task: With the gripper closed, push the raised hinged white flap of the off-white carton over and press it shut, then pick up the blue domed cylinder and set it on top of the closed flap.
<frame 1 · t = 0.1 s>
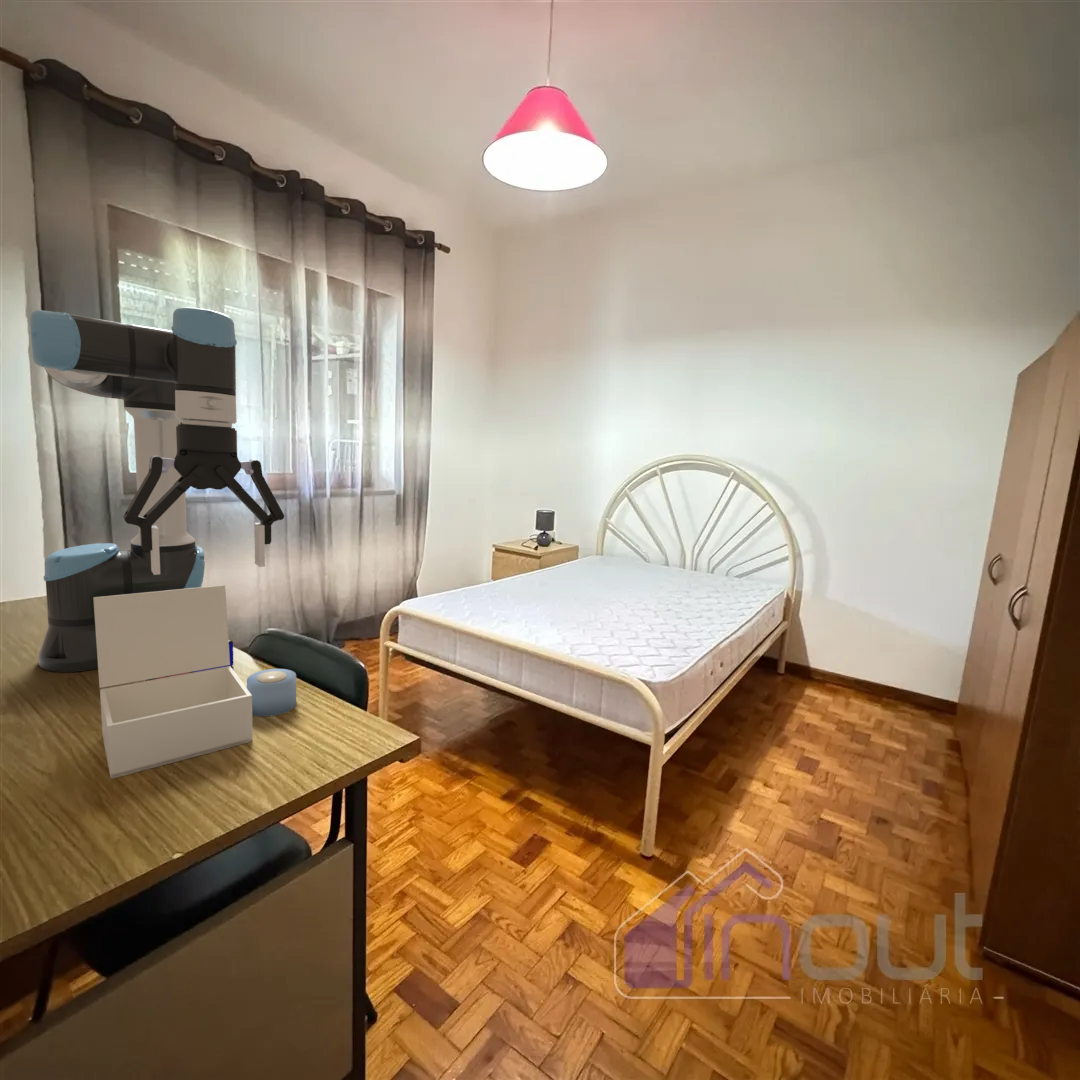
hand: (210, 568, 84), 28 cm above the table, fingers open, 13 cm apart
puzzle cube: (191, 698, 102), on the table
carton: (178, 738, 88), on the table
hinged white flap: (166, 633, 92), point 15 cm above the table, hinge at 100.0°
blue domed cylinder: (272, 706, 101), on the table
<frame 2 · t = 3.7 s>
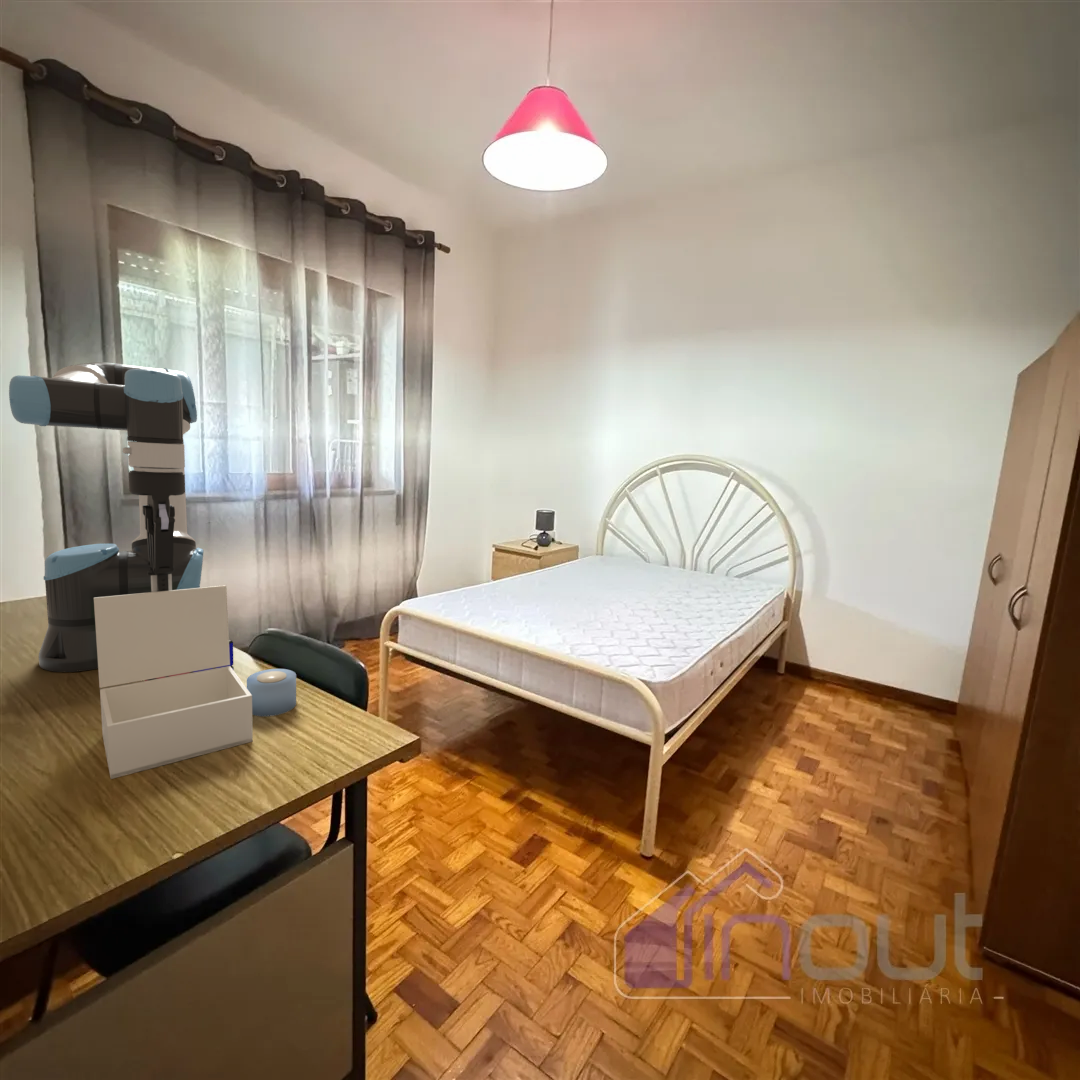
hand: (162, 611, 94), 18 cm above the table, fingers closed
hinged white flap: (166, 633, 92), point 15 cm above the table, hinge at 96.3°, touching gripper
everything else where it was.
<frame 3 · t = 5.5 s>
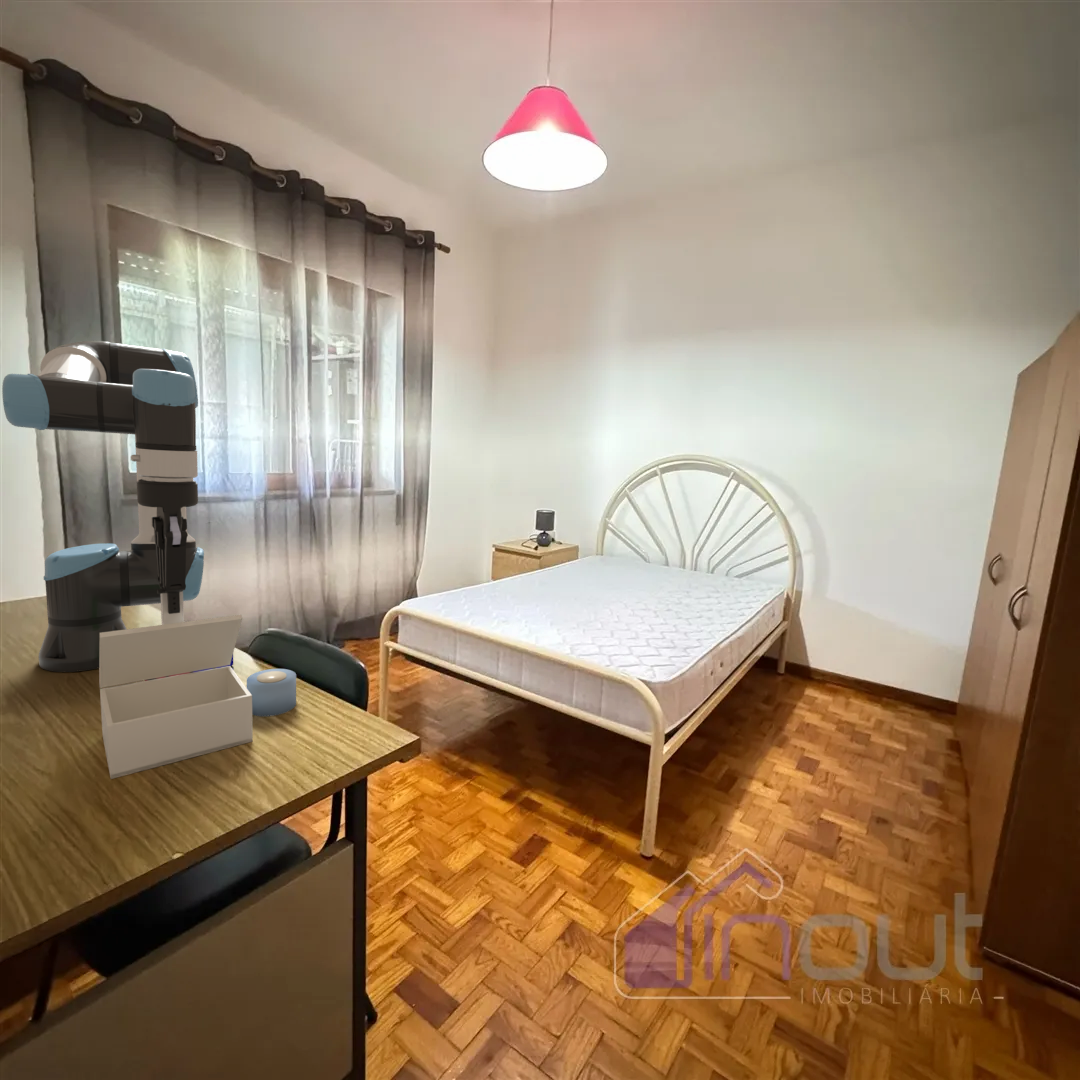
hand: (173, 631, 86), 17 cm above the table, fingers closed
hinged white flap: (172, 650, 88), point 14 cm above the table, hinge at 50.8°, touching gripper
everything else where it was.
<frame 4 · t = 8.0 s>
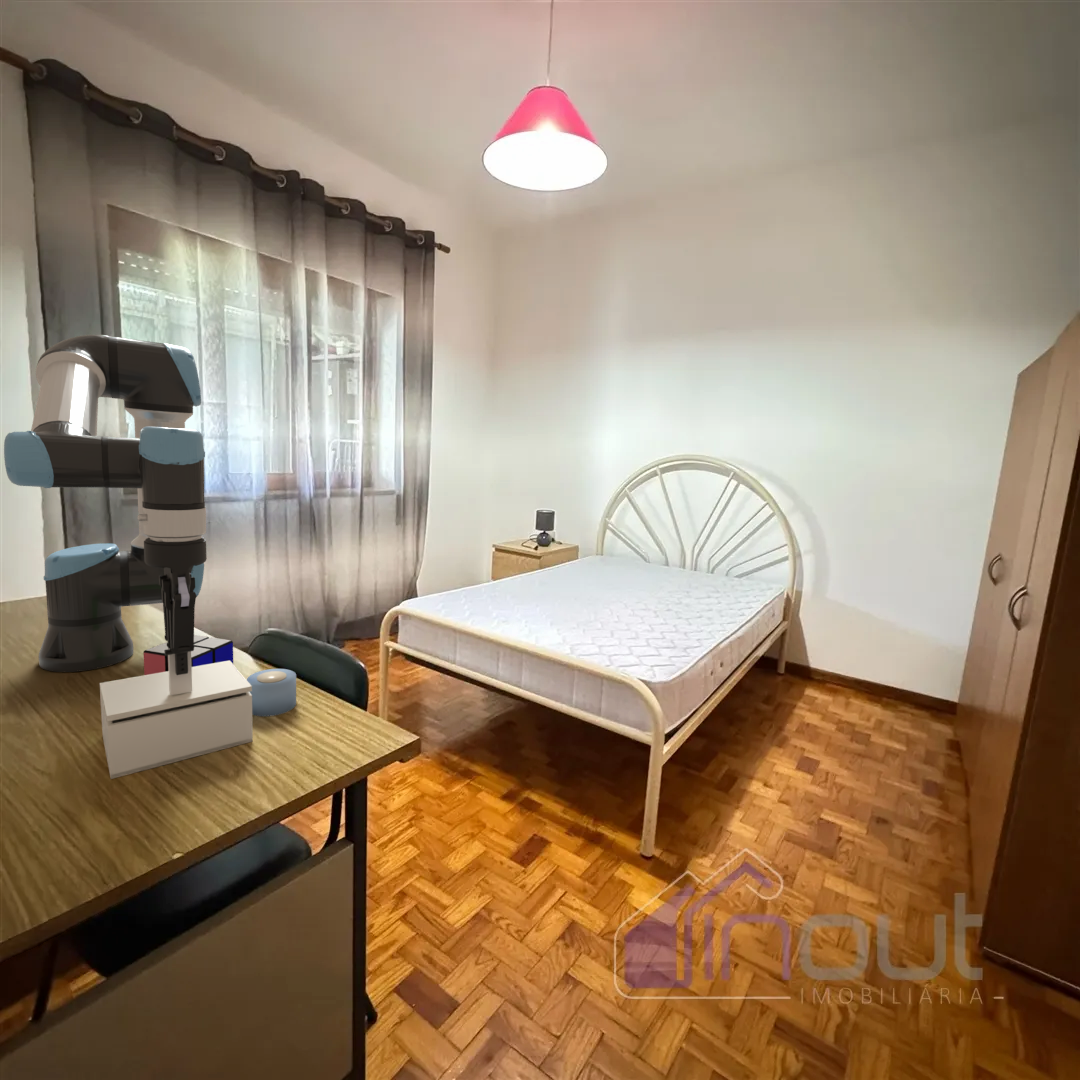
hand: (180, 691, 84), 9 cm above the table, fingers closed
hinged white flap: (176, 687, 87), point 9 cm above the table, hinge at 2.1°, touching gripper
everything else where it was.
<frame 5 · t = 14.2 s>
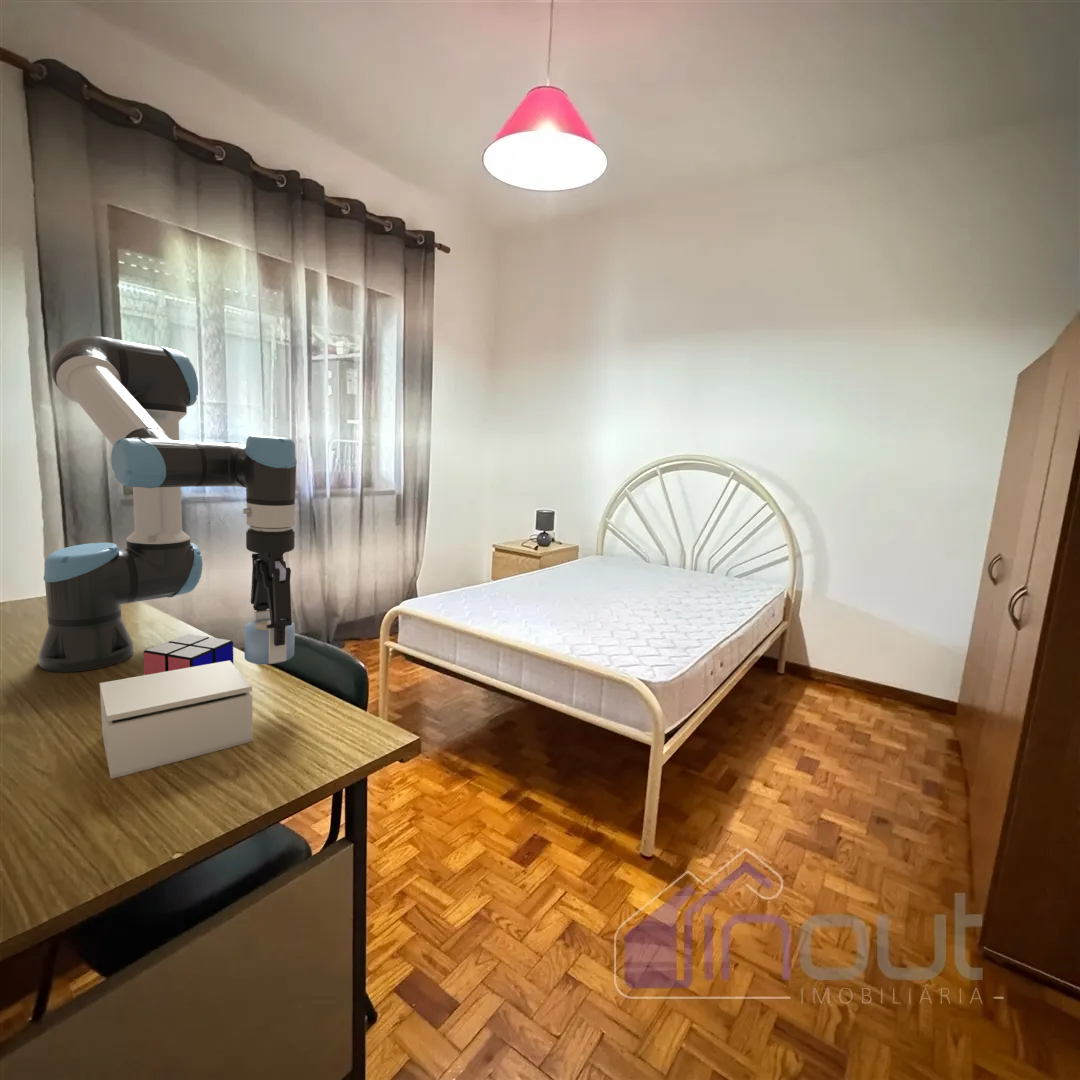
hand: (269, 652, 100), 10 cm above the table, fingers closed on blue domed cylinder, 8 cm apart
hinged white flap: (176, 687, 87), point 9 cm above the table, hinge at 2.0°
blue domed cylinder: (269, 655, 100), point 9 cm above the table, touching gripper
everything else where it was.
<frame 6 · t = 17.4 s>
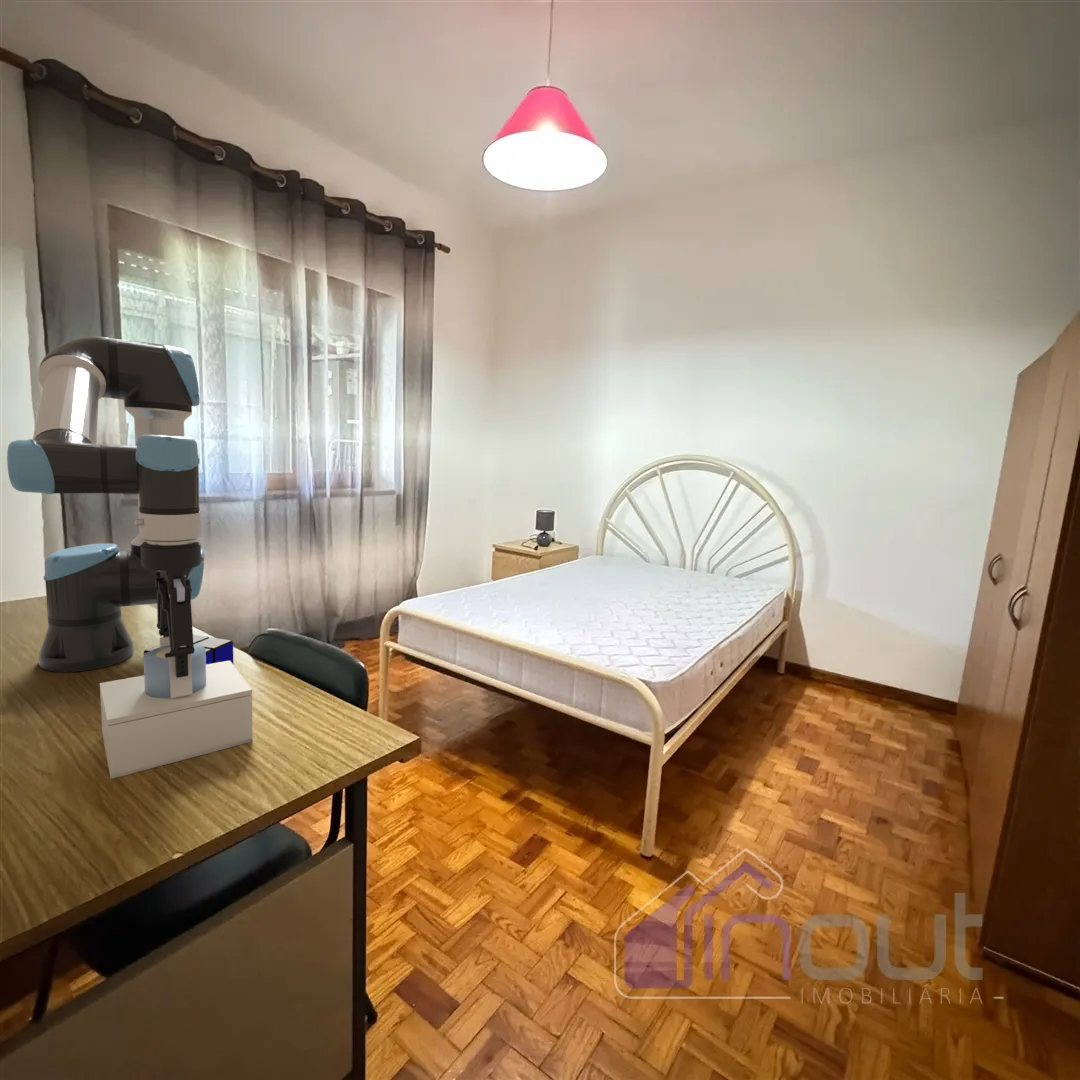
hand: (176, 684, 87), 9 cm above the table, fingers closed on blue domed cylinder, 8 cm apart
hinged white flap: (176, 688, 87), point 8 cm above the table, hinge at -0.2°, touching gripper, blue domed cylinder
blue domed cylinder: (176, 686, 87), point 9 cm above the table, touching gripper, hinged white flap
everything else where it was.
when the fingers open (9 cm above the table, at t = 17.8 s): blue domed cylinder stays where it is, resting on hinged white flap.
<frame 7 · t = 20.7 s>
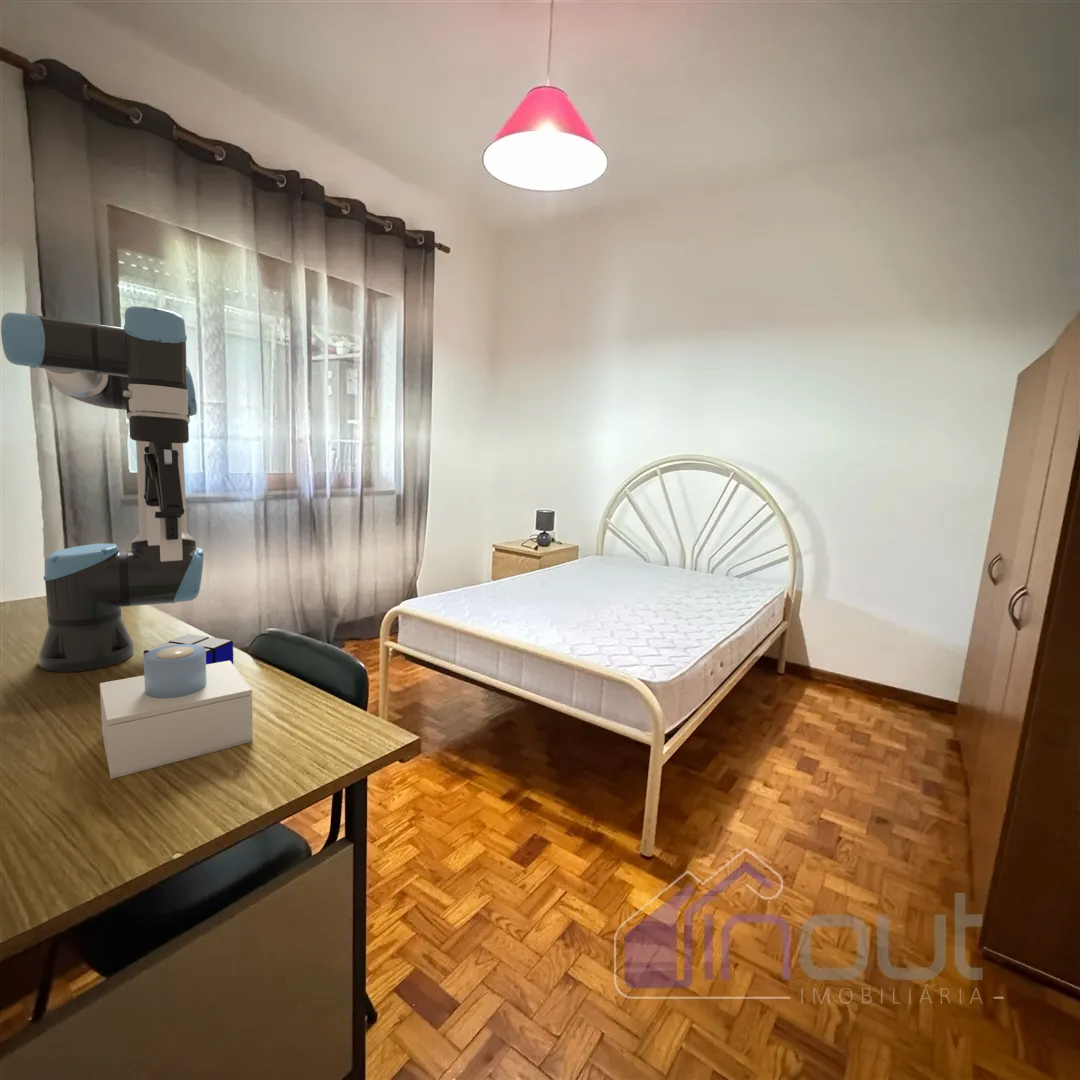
hand: (164, 552, 89), 29 cm above the table, fingers open, 13 cm apart
hinged white flap: (176, 688, 87), point 8 cm above the table, hinge at -0.2°, touching blue domed cylinder
blue domed cylinder: (176, 686, 87), point 9 cm above the table, touching hinged white flap
everything else where it was.
at the end: hinged white flap at +0° (first picture: +100°); blue domed cylinder inside the target area on the carton (0.2 cm from its centre), point 8.8 cm above the carton's base; blue domed cylinder tilted 0° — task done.
